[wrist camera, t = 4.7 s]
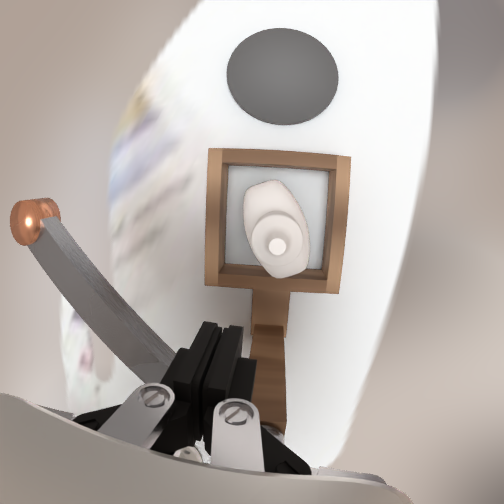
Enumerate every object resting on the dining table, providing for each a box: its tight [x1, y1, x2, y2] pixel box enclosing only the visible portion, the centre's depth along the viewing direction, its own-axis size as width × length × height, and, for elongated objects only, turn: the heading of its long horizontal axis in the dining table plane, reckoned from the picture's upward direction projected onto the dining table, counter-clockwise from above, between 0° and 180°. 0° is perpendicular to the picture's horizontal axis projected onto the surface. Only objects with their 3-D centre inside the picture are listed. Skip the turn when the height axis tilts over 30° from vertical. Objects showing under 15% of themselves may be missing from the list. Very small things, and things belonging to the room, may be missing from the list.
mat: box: [227, 28, 338, 125], centre depth 21 cm, size 9×9×1 cm
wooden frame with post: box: [205, 148, 351, 436], centre depth 18 cm, size 16×10×13 cm, turn 177°
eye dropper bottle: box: [243, 180, 310, 278], centre depth 18 cm, size 4×6×12 cm
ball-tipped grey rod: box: [10, 198, 284, 444], centre depth 12 cm, size 18×2×2 cm, turn 43°
